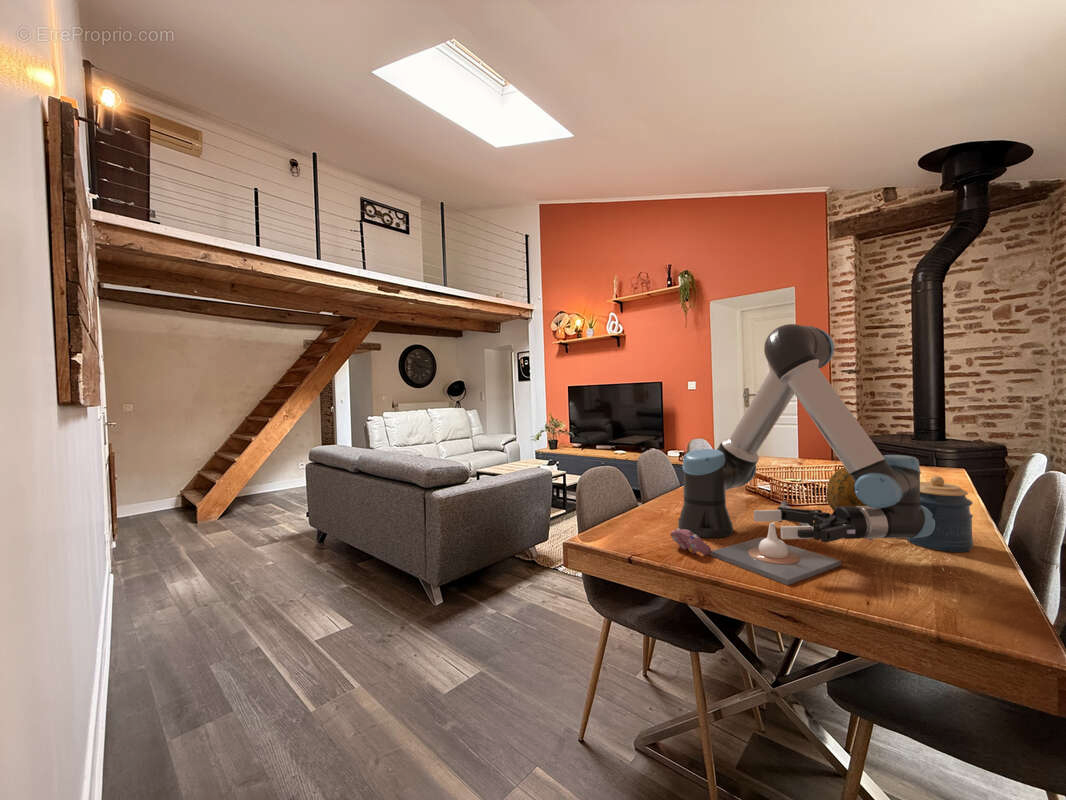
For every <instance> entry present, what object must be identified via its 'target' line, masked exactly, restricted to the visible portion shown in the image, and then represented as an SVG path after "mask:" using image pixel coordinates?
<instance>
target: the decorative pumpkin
mask: <svg viewBox="0 0 1066 800" xmlns="http://www.w3.org/2000/svg"><path fill="white" fill-rule="evenodd" d="M826 487H827V488H826V502H827V504H828V505H829V507H830V508H831V509H832V511H834V510H835V509H836V508H837V507H840V506H854V507H855V506H867V505H865V504H864V503H862V502H861V501H860V500H859V499H858V497H857V496H856V493H855V481H854V480H853V478H852V477H851V475H850V474H849V472H848V471H847V469H846V468H845V467H842V468H839V469H837V471H835V472H834V473H833V474H832V475H831V476H830V477H829V480H828V482H827V486H826Z"/></svg>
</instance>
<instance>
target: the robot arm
mask: <svg viewBox="0 0 1066 800" xmlns="http://www.w3.org/2000/svg"><path fill="white" fill-rule="evenodd" d="M763 349H764V350H763V351H764V356H765V358H766V361H767V366H768V368H769V372H768V373H767V375H766V377H765V379H764V381H763V382H762V384H761V385H760V387H759V389H758V391H757V392H756V394H755V395H754V397H753V399H752V401H751V402H750V404H749V405H748V407H747V408H746V410H745V412H744V414H743V416H742V417H741V419H740V420H739V422H738V424H737V426H736V427H735V428H734V431H733V433H731V436H730V437H728V438H723V439H722V440H721V442H720V443H719V445H718V447H717V448H716V449H714V448H713V449H712V448H702V449H695V450H691V451H689V452H687V453H685V454H684V455H683V458H682V468H681V469H682V476H683V478H682V479H683V481H682V485H683V505H682V509H681V511H680V517H679V518H678V521H677V522H678V525H677V526H678V528H680V529H686V530H689V531H691V532H692V533H693V534H696V535H697V536H698V537H700V538H711V539H715V538H716V539H718V538H719V539H720V538H725V537H730V536H731V535H732V534H733V532H734V526H733V522H732V520H731V517H730V514H729V511H728V509H727V505H726V504H727V501H726V497H727V496H726V495H727V493H726V491H728V490H731V489H735V488H738V487H739V488H740V487H742V486H745V485H746V484H748V483H749V482H750V481H751V480H753V478H754V477H755V476H756V472H757V464H758V462H759V459H760V457H759V454H758V452H759V450H760V449H761V447H762V445H763V444H764V442H765V441H766V439H767V438H768V436H769V435H770V433H771V431H772V429H773V428H774V426H775V425H776V424H777V422H778V421H779V419H780V417H781V416H782V414H783V413H784V411H785V410H786V409H787V406H788V405H789V403H790V401H792V398H793V397H794V396H795V397H796V398H797V399H798V401H799V402H800V404H801V406H803V408H804V409H805V411H806V413H807V414H808V415H809V417H810V419H811V420H812V422H813V424H815V426H816V427H817V429H818V430H819V431H820V432H821V434H822V436H823V437H824V439H825V440H826V442H827V444H828V445H829V446H830V447H831V449H832V450H833V452H834V454H835V456H837V457H838V460H839V461H840V462H841V464H842V465H843V466H844V467H843V468H846V469H847V471H848V472H849V474H850V475H851V477H852V478H853V480H854V481H855V493H856V496H857V497H858V499H859V500H860V501H861V502H862V503H864V504H865V505H867V506H855V507H854V506H840V507H837V508H836V509H835V510H833V512H832V513H830V512H825V511H822V510H821V509H806V508H805V509H804V508H792V507H791V508H783V507H780V506H778V507H777V509H761V510H760V509H758V510H757V509H756V510H755V509H753V520H754V522H755V523H757V522H758V523H759V522H779V523H782V522H783V521H788V522H795V523H799V522H800V523H806V524H809V525H810V526H802V525H786V526H785V525H783V526H782V525H781V526H780V539H782V540H810V539H814V540H817V541H818V540H821V541H820V542H821V543H831V542H834V541H838V540H842V539H845V540H848V539H849V540H852V539H853V540H855V539H858V540H859V539H868V540H869V541H873V540H874V539H907V538H920V537H926V536H929V535H931V534H932V533H933V531H934V529H935V520H934V519H933V518H932V516H933V515H932V513H931V512H930V511H929V510H928V509H927V508H926V507H924V506H921V504H920V482H921V474H922V473H921V470H920V469H921V468H920V461H919V459H918V458H916V457H915V456H910V455H901V454H885V455H883V454H882V453H881V451H880V450H879V449H878V448H877V446H876V444H875V443H874V442H873V441H872V439H871V438H870V436H869V435H868V434H867V432H866V431H865V430H864V428H863V427H862V426H861V424H860V423H859V422H858V420H857V419H856V417H855V416H854V414H853V413H852V411H850V409H849V407H848V406H847V405H846V403H845V402H844V401H843V399H842V398H841V396H839V394H838V392H837V391H836V390H835V388H834V387H833V386H832V384H831V383H830V381H829V380H828V379H827V378H826V376H825V375H824V373H823V372H822V371H821V370H820V369H822V368H823V367H825V366H826V365H827V364H829V363H830V361H831V360H832V358H833V356H834V353H835V343H834V341H833V338H832V336H831V335H830V334H829V333H827V332H826V331H825V330H823V329H821V328H819V327H815V326H812V325H800V324H795V323H790V324H789V323H788V324H783V325H780V326H778V327H777V328H775V329H773V330H772V331H771V332H770V333H769V335H768V336H767V337H766V340H765V341H764V348H763ZM800 523H799V524H800ZM811 526H813V530H812V527H811Z"/></svg>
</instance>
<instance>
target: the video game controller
mask: <svg viewBox="0 0 1066 800" xmlns="http://www.w3.org/2000/svg"><path fill="white" fill-rule="evenodd" d="M670 537H671V539H672V540H673V542H675V543H677V545H678V546H679V547H680V548H681V550H684V551H686V550H687V549H688V552H689V553H691V554H693V555H694V554H696V553H697V552H699V553H700V554H702V555H704V556H711V551H712V548H711V546H709V545H708V544H707V543H706V542H704V540H702V537H698V536H697V535H696V534H693V533H692V532H691V531H689V530H686V529H680V528H679V527H678V528H677V529H674V530H672V532H670Z"/></svg>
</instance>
